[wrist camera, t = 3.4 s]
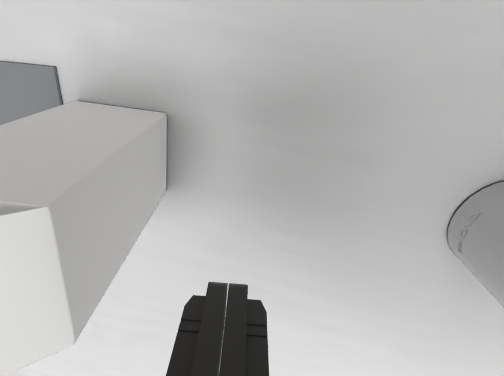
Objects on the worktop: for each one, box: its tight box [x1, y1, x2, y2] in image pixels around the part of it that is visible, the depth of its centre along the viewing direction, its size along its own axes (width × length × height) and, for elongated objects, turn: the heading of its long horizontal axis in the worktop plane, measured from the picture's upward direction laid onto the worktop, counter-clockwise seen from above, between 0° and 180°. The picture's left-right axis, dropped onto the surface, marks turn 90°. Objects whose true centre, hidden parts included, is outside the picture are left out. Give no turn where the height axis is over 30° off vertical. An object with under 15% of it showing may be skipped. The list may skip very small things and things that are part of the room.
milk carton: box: [0, 101, 167, 376], centre depth 16 cm, size 7×7×19 cm
